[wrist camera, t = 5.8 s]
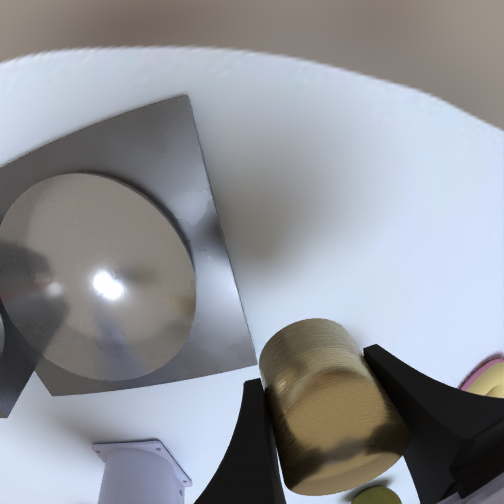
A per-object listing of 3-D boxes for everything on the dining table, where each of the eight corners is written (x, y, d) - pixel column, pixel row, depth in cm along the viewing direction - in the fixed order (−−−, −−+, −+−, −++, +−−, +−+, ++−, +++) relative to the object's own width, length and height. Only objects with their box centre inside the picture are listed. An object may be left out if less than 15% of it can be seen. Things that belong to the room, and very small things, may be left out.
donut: (430, 401, 33) (470, 409, 33) (439, 429, 28) (479, 433, 29) (483, 344, 28) (517, 360, 29) (499, 372, 24) (531, 383, 25)
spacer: (353, 377, 15) (402, 469, 9) (268, 402, 15) (292, 505, 9) (349, 306, 13) (419, 402, 8) (249, 333, 13) (273, 451, 8)
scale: (255, 354, 23) (270, 425, 17) (33, 389, 23) (7, 442, 16) (188, 97, 17) (174, 74, 10) (-54, 204, 16) (-111, 231, 10)
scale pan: (223, 354, 21) (223, 362, 20) (55, 381, 20) (51, 388, 20) (157, 139, 16) (155, 139, 15) (-25, 214, 15) (-32, 217, 15)
